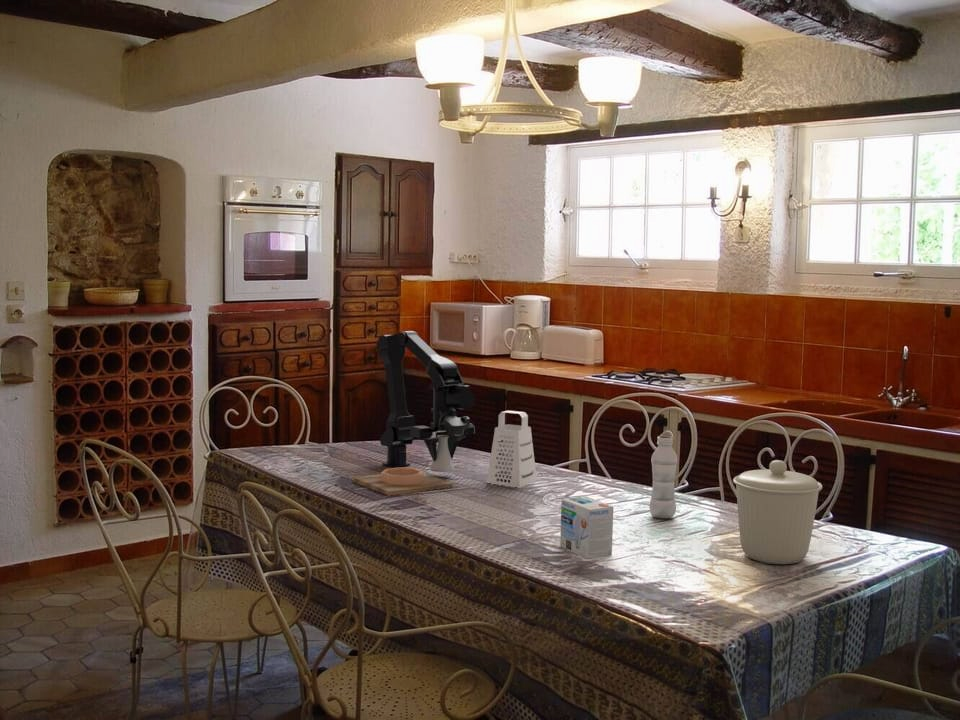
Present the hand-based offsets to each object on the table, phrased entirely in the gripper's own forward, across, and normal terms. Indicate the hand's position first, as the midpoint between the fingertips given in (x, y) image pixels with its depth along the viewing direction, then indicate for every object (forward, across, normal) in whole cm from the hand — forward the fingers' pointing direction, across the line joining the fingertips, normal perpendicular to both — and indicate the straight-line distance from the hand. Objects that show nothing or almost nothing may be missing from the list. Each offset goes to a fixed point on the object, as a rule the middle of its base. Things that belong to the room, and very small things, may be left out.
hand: (442, 459), depth 290 cm
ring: (+4, -15, -3) cm, 16 cm away
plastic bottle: (+5, +21, -67) cm, 70 cm away
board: (+5, -15, -3) cm, 16 cm away
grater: (+5, +13, -16) cm, 21 cm away
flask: (+3, 0, 0) cm, 3 cm away
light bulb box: (+5, -14, -79) cm, 80 cm away
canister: (+5, +17, -104) cm, 105 cm away
